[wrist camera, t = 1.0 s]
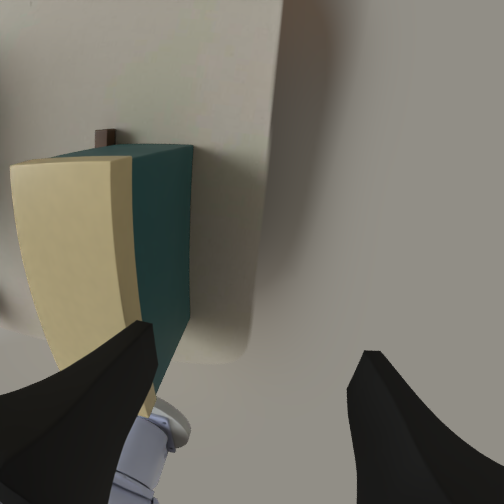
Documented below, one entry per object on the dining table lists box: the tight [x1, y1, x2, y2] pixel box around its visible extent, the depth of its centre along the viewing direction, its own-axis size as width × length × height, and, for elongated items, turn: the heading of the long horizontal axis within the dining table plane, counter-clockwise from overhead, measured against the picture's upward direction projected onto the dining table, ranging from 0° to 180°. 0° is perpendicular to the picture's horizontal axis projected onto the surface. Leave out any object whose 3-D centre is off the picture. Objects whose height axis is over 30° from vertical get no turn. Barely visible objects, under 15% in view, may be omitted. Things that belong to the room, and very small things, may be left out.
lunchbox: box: [10, 144, 193, 418], centre depth 14 cm, size 12×5×9 cm, turn 174°
